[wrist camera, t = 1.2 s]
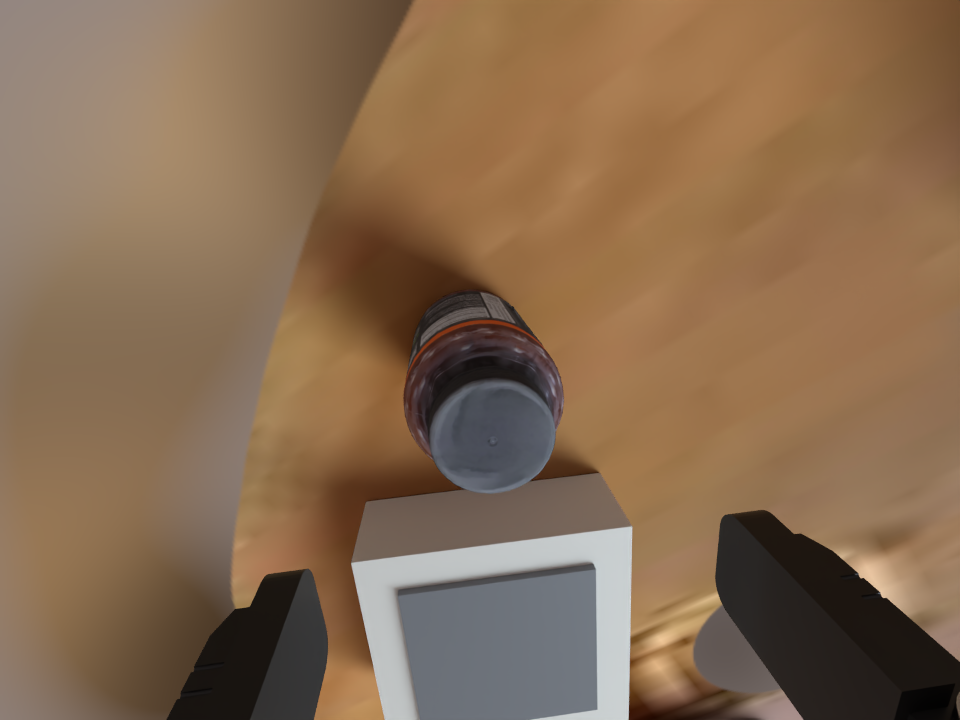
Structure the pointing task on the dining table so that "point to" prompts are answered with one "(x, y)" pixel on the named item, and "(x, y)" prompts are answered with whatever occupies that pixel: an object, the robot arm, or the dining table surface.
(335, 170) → the dining table surface
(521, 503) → the white and gray stand
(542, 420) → the supplement bottle
